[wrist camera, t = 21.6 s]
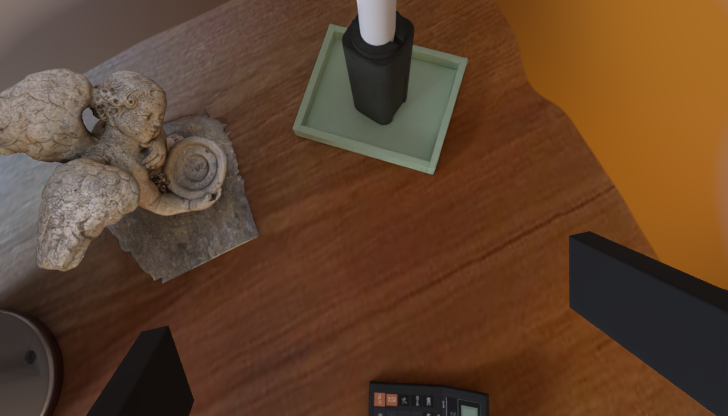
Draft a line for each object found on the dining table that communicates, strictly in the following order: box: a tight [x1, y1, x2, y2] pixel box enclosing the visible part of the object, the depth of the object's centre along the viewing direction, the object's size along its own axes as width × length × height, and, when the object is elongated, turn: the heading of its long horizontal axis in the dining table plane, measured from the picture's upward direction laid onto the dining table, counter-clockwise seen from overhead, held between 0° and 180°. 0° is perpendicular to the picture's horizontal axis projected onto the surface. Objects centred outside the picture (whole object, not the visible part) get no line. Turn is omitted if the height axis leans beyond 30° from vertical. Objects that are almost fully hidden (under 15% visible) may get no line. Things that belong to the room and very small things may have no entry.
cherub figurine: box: [0, 69, 261, 289], centre depth 37 cm, size 18×18×18 cm
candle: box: [342, 0, 414, 125], centre depth 33 cm, size 5×5×25 cm
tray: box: [292, 24, 468, 175], centre depth 45 cm, size 17×14×2 cm
